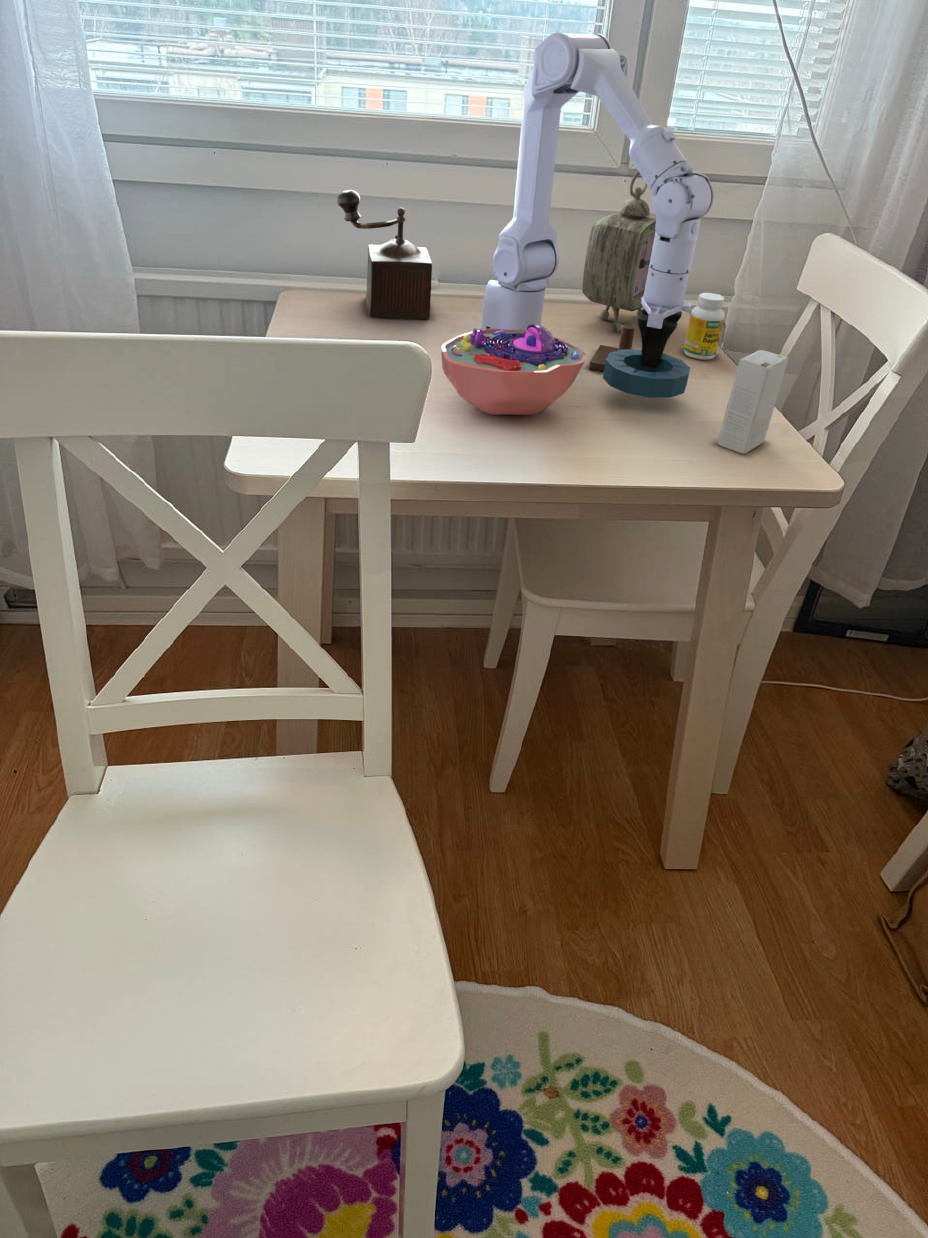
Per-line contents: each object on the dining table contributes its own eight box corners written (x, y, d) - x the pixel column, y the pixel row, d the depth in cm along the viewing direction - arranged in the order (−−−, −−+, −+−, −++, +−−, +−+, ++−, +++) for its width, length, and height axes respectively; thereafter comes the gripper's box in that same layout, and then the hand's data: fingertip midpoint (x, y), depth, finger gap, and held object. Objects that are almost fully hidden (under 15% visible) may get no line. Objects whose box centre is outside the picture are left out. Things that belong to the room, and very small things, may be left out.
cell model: (418, 389, 137) (422, 309, 131) (544, 381, 144) (554, 304, 138) (462, 438, 125) (470, 352, 118) (598, 426, 132) (613, 344, 125)
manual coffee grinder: (423, 300, 173) (430, 192, 163) (430, 319, 164) (437, 206, 154) (336, 296, 170) (336, 186, 160) (338, 316, 161) (339, 201, 151)
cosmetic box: (736, 433, 134) (758, 347, 127) (766, 444, 131) (790, 356, 125) (715, 445, 130) (737, 356, 123) (745, 456, 127) (769, 367, 121)
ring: (597, 387, 137) (600, 368, 135) (611, 362, 146) (614, 344, 145) (680, 403, 134) (684, 384, 133) (689, 376, 144) (693, 358, 142)
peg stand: (588, 369, 150) (595, 329, 147) (599, 351, 157) (605, 313, 154) (646, 379, 148) (654, 339, 145) (654, 361, 156) (661, 323, 152)
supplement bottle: (699, 347, 163) (712, 289, 158) (722, 357, 160) (736, 299, 155) (676, 351, 161) (688, 292, 155) (699, 362, 157) (712, 302, 152)
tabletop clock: (620, 337, 164) (648, 178, 150) (573, 325, 168) (595, 168, 154) (653, 318, 175) (681, 168, 161) (607, 307, 179) (631, 159, 165)
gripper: (692, 285, 129) (671, 383, 136) (703, 261, 140) (683, 352, 148) (640, 277, 130) (622, 374, 138) (654, 253, 142) (637, 344, 149)
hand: (650, 362), depth 143 cm, fingers closed on ring, 2 cm apart
